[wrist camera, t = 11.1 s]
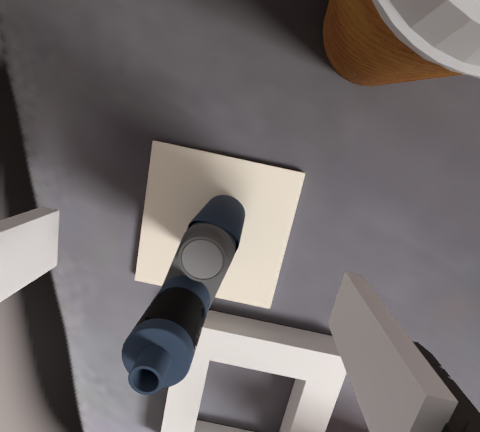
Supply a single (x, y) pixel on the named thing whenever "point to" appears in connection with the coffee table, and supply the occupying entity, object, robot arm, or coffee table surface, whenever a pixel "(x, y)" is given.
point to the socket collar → (262, 359)
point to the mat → (198, 195)
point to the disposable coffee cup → (402, 39)
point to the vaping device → (184, 298)
